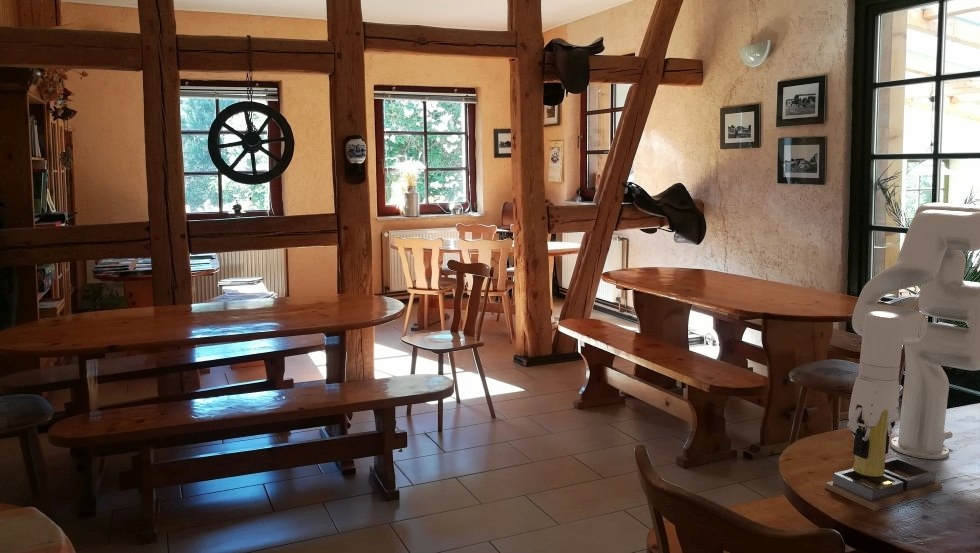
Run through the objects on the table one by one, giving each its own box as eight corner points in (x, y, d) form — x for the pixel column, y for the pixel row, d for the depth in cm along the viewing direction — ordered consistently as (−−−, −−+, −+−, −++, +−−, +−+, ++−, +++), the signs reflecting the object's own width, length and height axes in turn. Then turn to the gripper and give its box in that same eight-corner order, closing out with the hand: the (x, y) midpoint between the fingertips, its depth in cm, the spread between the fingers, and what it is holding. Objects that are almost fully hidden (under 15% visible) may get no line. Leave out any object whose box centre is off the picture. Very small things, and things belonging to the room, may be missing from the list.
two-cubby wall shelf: (895, 467, 183) (896, 454, 183) (935, 483, 175) (936, 469, 174) (832, 484, 174) (834, 470, 173) (871, 502, 165) (873, 488, 165)
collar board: (892, 469, 185) (892, 464, 184) (941, 490, 174) (942, 485, 174) (825, 488, 174) (825, 482, 174) (874, 510, 164) (874, 505, 164)
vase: (887, 478, 167) (894, 412, 165) (856, 475, 168) (862, 410, 166) (880, 467, 173) (886, 403, 171) (849, 464, 174) (855, 401, 172)
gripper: (889, 362, 174) (881, 441, 177) (835, 371, 167) (827, 454, 170) (922, 371, 168) (912, 453, 171) (867, 381, 160) (858, 467, 163)
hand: (870, 453), depth 170 cm, fingers closed on vase, 5 cm apart
